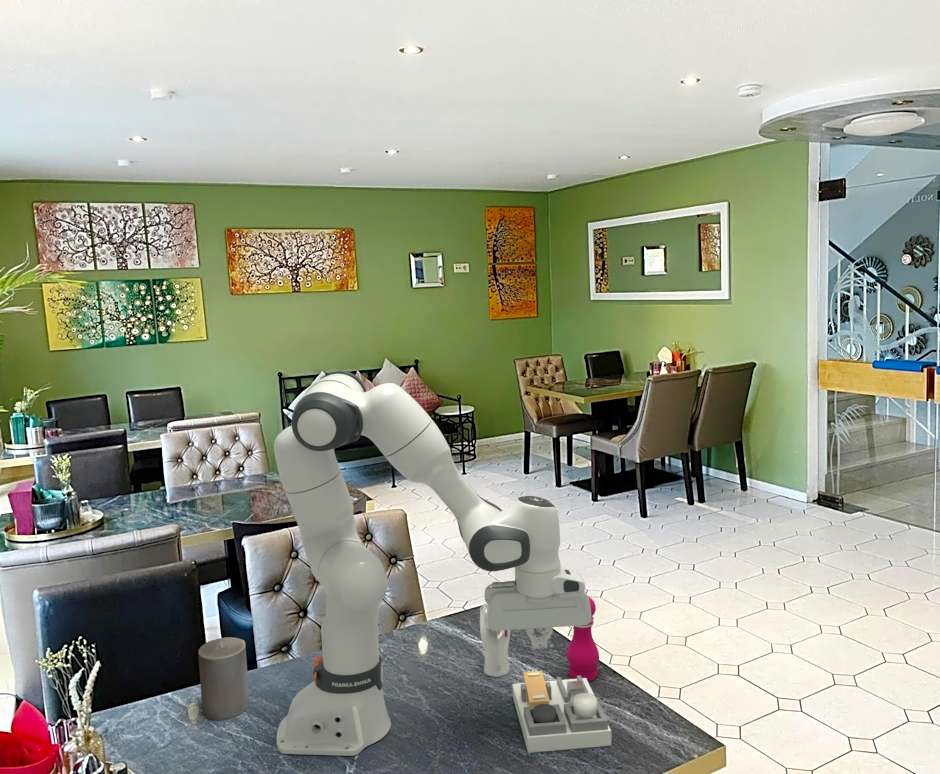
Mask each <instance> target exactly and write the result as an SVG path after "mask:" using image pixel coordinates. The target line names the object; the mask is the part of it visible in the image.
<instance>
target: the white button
mask: <svg viewBox="0 0 940 774" xmlns="http://www.w3.org/2000/svg"><path fill="white" fill-rule="evenodd" d="M597 701H598V700H597V697H596V696H595V694H594V695H592V694H589V693H580V694H577V695H575V696H574V713H575V714H576V715H578V716H580V717H592V716H594V715H596V713H597Z"/></svg>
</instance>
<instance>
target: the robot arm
mask: <svg viewBox="0 0 940 774" xmlns="http://www.w3.org/2000/svg"><path fill="white" fill-rule="evenodd" d="M292 411H293V412H292V416H291V425H290V426H287V427H286V428H284V429H282V431H280V433H278V434H277V436H275V437H276V438H275V440H274V443H273V450H274V458H275V463H276V466H277V471H278V474H279V478H280V482H281V484H282V487H283V489H284V493H285V495H286V498H287V500H288V503H289V506H290V509H291V510H292V514H293V516H294V518H295V522H296V523H297V526H298V529H299V533H300V537H301V542H302V545H303V549H304V552H305V555H306V558H307V562H308V565H309V568H310V571H311V573H312V575H313V577H314V578H315V579H316V580H317V582H318V583H319V584H320V585H321V587H322V588H323V592H324V593H325V599H326V602H325V604H326V605H325V612H324V613H325V615H324V620H323V622H322V624H321V628H320V632H321V650H322V656H320V655H318V656H316V657H315V658H313V659H314V660H313V664H312V667H313V673H312V674H313V681H312V682H311V683H309V684H308V685H306V686H305V687H304V688H303V689H301V690H300V691H298V693H296V695H295V696H294V698H293V699H292V701H291V703H290V705H289V708H288V713H287V715H286V716H284V717H283V718H282V721H281V722H280V723H279V726H278V728H277V732H276V741H275V743H276V748H277V750H278V752H280V753H281V754H284V755H285V754H286V755H311V756H312V755H313V756H339V757H341V756H342V757H343V756H344V757H345V756H346V757H348V756H349V757H350V756H351V757H354V756H356V755H359V754H360V753H361V752H362V751H363V750H364V749H365V748H367V747H369V746H370V745H372V744H375V743H376V742H378V741H380V740H382V739H383V738H384V737H385V736H386V735H387V734H388V733H389V731H390V730H391V726H392V722H391V718H390V716H389V714H388V710H387V706H386V702H385V697H384V690H383V685H384V671H383V670H384V669H383V668H384V667H383V663H382V657H381V655H380V650H379V649H380V648H379V628H378V627H379V625H378V624H379V615H380V607H381V601H382V600H383V599H384V597H385V596H386V593H387V589H388V587H389V584H388V583H389V581H388V580H389V579H388V575H387V573H386V570H385V568H384V566H383V564H382V562H381V560H380V559H379V557H378V556H376V554H374V553H373V552H372V551H371V550H370V549H368V547H366V546H365V544H364V543H363V541H362V539H361V538H360V536H359V533H358V530H357V526H356V521H355V516H354V510H355V508H354V506H355V505H354V504H353V500H352V498H351V494H350V491H349V489H348V486H347V483H346V481H345V478H344V476H343V472H342V470H341V466H340V464H339V462H338V459H337V457H336V453H335V449H337V448H339V447H341V446H344V445H347V444H350V443H355V442H357V441H358V440H359V439H360V437H361V436H362V437H363V436H364V437H366V438H368V439H369V440H370V441H371V442H373V444H374V446H376V447H377V449H378V450H379V451H380V452H381V454H383V456H384V458H385V459H386V460H387V462H389V464H390V465H392V467H393V468H394V469H396V470H397V471H398V473H400V474H401V475H402V476H403V477H404V478H406V479H407V480H408V481H410V482H411V483H417V484H418V483H419V484H424V485H426V486H427V487H428V488H430V489H431V490H432V491H433V492H434V493H435V494H436V495H437V496H438V498H439V499H440V500H441V501H442V503H444V505H445V506H446V507H447V508H448V510H449V511H450V512H451V513H452V514H453V515H454V516H453V517H455V519H456V521H457V525H458V531H459V534H460V537H461V538H462V539H461V540H462V541H463V542H464V545H465V547H466V550H467V551H468V552H467V553H468V554H469V556H470V558H471V560H472V562H473V563H474V564H475V566H477V567H478V568H479V569H481V570H484V571H487V572H499V571H504V570H509V569H513V568H514V580H507V581H494V582H491V584H488V586H486V587H485V589H484V601H485V604H488V605H487V625H488V627H489V628H490V629H491V630H492V631H500V630H510V631H513V630H525V633H526V635H527V636H528V637H529V639H530V642H531V648H532V650H538V649H539V650H541V649H548V641H549V640H550V638H551V636H552V634H553V631H554V628H562V627H563V628H564V627H565V628H566V627H573V626H582V625H588V624H589V623H590V621H591V607H590V601H589V597H590V596H589V595H588V593H587V592H586V590H585V589H586V583H585V580H584V578H583V575H582V574H581V573H580V572H579V571H578V569H577V570H576V569H573V568H570V567H566V566H562V565H561V560H560V556H559V550H560V545H561V532H560V530H561V529H560V528H561V527H560V520H559V513H558V509H557V507H556V506H555V505H554V504H553V503H552V502H551V501H550V500H547V499H546V498H543V497H541V496H534V495H523V496H519V497H517V499H516V500H515V501H514V502H512V503H511V504H510V505H508V507H506V508H504V509H501V507H499V506H498V505H496V504H494V503H493V502H490V501H488V500H487V499H485V498H482V497H481V496H480V495H479V494H478V492H476V490H475V489H474V488H473V486H472V485H471V484H470V483H469V481H467V479H466V478H465V476H464V475H463V474H462V473H461V472H460V471H459V470H458V468H457V466H456V464H455V461H454V460H453V456H452V451H451V448H450V446H449V444H448V442H447V440H446V438H445V437H444V435H443V433H442V431H441V429H439V427H438V425H437V423H435V421H434V420H433V419H432V418H431V416H430V415H429V414H428V413H427V411H426V410H425V409H424V408H423V407H422V405H420V404H419V402H417V401H416V399H415V398H413V397H412V396H411V395H410V394H409V393H408V392H407V391H405V390H404V389H403V388H402V387H401V386H400V385H398V384H396V383H392V382H387V383H381V384H379V385H375V386H374V387H372V388H371V389H369V390H367V387H366V385H365V384H364V382H363V381H362V379H361V378H360V377H358V376H357V375H355V374H354V373H351V372H349V371H345V370H337V371H336V370H335V371H331V372H328V373H326V374H325V375H322V377H320V379H318V380H317V381H316V382H314V383H313V384H312V385H311V386H310V387H309V388H308V389H307V390H306V391H305V393H304V395H303V396H302V398H301V399H299V401H297V403H296V405H295V406H294V409H293V410H292ZM588 596H589V597H588ZM535 629H544V633H543V635H542V636H534V633H535Z"/></svg>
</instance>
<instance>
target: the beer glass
mask: <svg viewBox="0 0 940 774" xmlns="http://www.w3.org/2000/svg"><path fill="white" fill-rule="evenodd" d="M487 605H488V604H487V603H484V604H482V605H481V606H480V607H479V608H480V611H479V632H480V638H481V642H482V643H481V644H482V646H483V653H484V662H483V673H484V675H487V676H489V677H493V678H494V677H495V678H498V677H499V678H500V677H505V676H507V675H508V674H509V673H510V671H511V666H510V662H509V656H508V655H509V653H508V652H509V645H510V639H511V630H500V631H492V630H491V629H490V628H489V627H488V625H487Z"/></svg>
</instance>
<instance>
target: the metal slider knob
mask: <svg viewBox="0 0 940 774" xmlns="http://www.w3.org/2000/svg"><path fill="white" fill-rule="evenodd" d="M580 693H585V687H584V685H583V683H582V681H569V682H567V694H568V698H569V701H570V703H574V696H575V695H577V694H580Z"/></svg>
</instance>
